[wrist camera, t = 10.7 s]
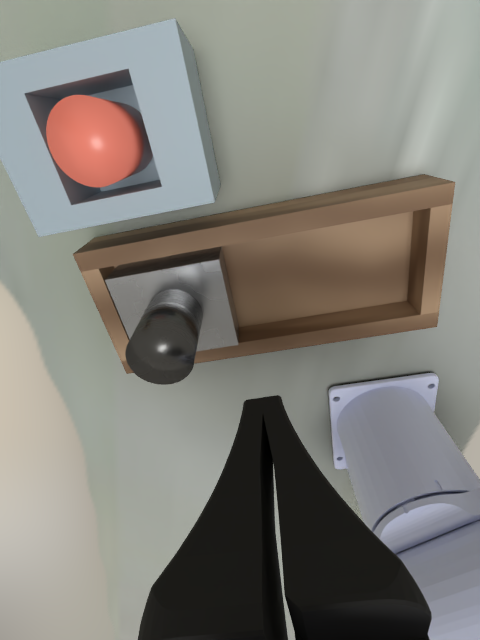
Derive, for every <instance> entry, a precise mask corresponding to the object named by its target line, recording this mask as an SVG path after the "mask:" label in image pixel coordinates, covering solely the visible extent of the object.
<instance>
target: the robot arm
mask: <svg viewBox="0 0 480 640" xmlns="http://www.w3.org/2000/svg"><path fill="white" fill-rule="evenodd" d="M438 382H439V378H438V376H437V375H436V374H435V373H426V374H419V375H411V376H404V377H397V378H390V379H383V380H376V381H368V382H361V383H354V384H347V385H340V386H334V387H331V388H330V389H329V406H330V420H331V434H332V448H333V462H334V466H335V468H336V469H347V470H348V474H349V477H350V480H351V483H352V486H353V490H354V493H355V496H356V499H357V502H358V505H359V509H360V512H361V515H362V518H363V521H364V523H363V521H362V520H361V519H360V518H359V517H358V516H357V515H356V514H355V513H354V511H353V510H352V509H351V508H350V507H349V506H348V505H347V503H346V502H345V501H344V500H343V499H342V498H341V497H340V495H339V494H338V493H337V492H336V490H335V489H334V488H333V487H332V485H331V484H330V483H329V482H328V480H327V479H326V478H325V476H324V475H323V474H322V472H321V471H320V470H319V468H318V467H317V465H316V464H315V462H314V461H313V459H312V458H311V456H310V455H309V453H308V452H307V450H306V449H305V447H304V445H303V444H302V442H301V440H300V439H299V437H298V435H297V433H296V432H295V430H294V428H293V426H292V424H291V422H290V420H289V418H288V416H287V413H286V411H285V408H284V406H283V403H282V399H281V397H280V396H278V395H277V396H270V397H263V398H256V399H250V400H246V401H245V402H244V405H243V411H242V416H241V420H240V423H239V427H238V431H237V434H236V437H235V440H234V443H233V446H232V449H231V452H230V454H229V457H228V459H227V462H226V464H225V467H224V469H223V471H222V474H221V476H220V478H219V480H218V483H217V485H216V487H215V489H214V491H213V493H212V495H211V497H210V499H209V500H208V502H207V504H206V506H205V508H204V510H203V511H202V513H201V515H200V517H199V518H198V520H197V522H196V524H195V525H194V527H193V528H192V530H191V531H190V533H189V535H188V536H187V538H186V539H185V541H184V542H183V544H182V545H181V547H180V549H179V550H178V552H177V553H176V554H175V556H174V557H173V559H172V560H171V561H170V563H169V564H168V565H167V567H166V568H165V570H164V571H163V572H162V574H161V575H160V576H159V578H158V579H157V580H156V582H155V583H154V584H153V586H152V588H151V591H150V593H149V596H148V599H147V602H146V606H145V609H144V613H143V616H142V620H141V625H140V630H139V636H138V640H288V637H287V628H286V620H285V612H284V603H283V595H282V587H281V578H280V569H279V561H278V552H277V543H276V534H275V516H274V482H273V464H274V470H275V480H276V490H277V501H278V512H279V524H280V536H281V548H282V562H283V575H284V590H285V597H286V601H287V605H288V608H289V612H290V616H291V620H292V623H293V627H294V631H295V639H296V640H480V479H479V478H478V476H477V475H476V473H475V472H474V470H473V469H472V468H471V466H470V465H469V463H468V462H467V460H466V459H465V457H464V456H463V454H462V453H461V451H460V450H459V448H458V447H457V446H456V444H455V443H454V441H453V440H452V438H451V437H450V435H449V434H448V432H447V431H446V429H445V428H444V426H443V425H442V424H441V422H440V421H439V419H438V418H437V416H436V415H435V413H434V410H435V403H436V396H437V389H438ZM429 384H431V385H429ZM334 397H337V398H334Z"/></svg>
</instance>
